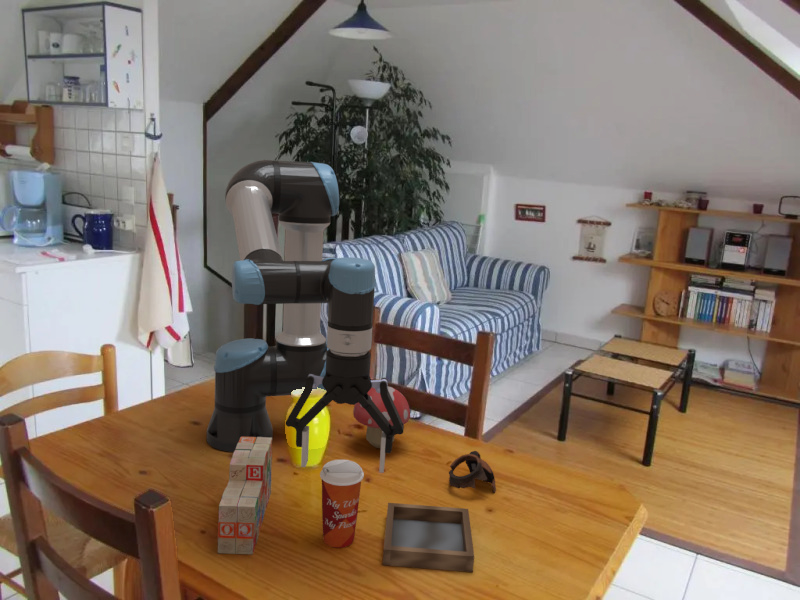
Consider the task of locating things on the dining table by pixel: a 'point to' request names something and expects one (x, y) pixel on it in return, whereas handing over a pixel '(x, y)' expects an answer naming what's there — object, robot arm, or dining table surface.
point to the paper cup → (340, 501)
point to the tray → (428, 537)
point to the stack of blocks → (245, 496)
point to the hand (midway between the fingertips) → (343, 466)
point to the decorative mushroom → (372, 428)
